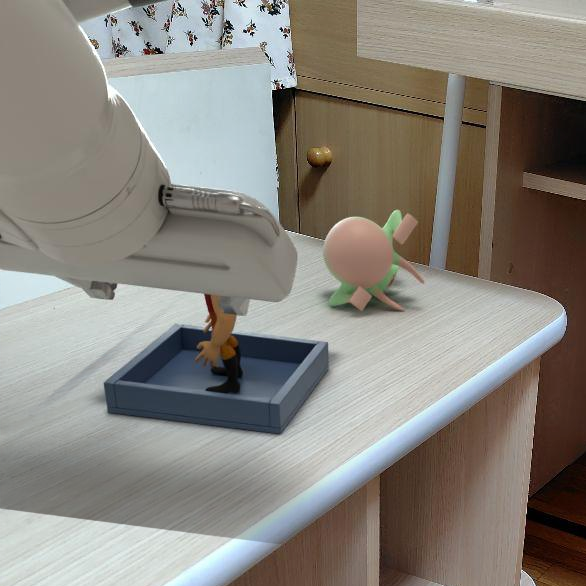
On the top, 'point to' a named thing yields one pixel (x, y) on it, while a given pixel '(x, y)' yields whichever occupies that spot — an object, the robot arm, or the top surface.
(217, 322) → the action figure
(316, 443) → the top surface
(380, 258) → the pink green toy creature
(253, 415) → the blue tray
